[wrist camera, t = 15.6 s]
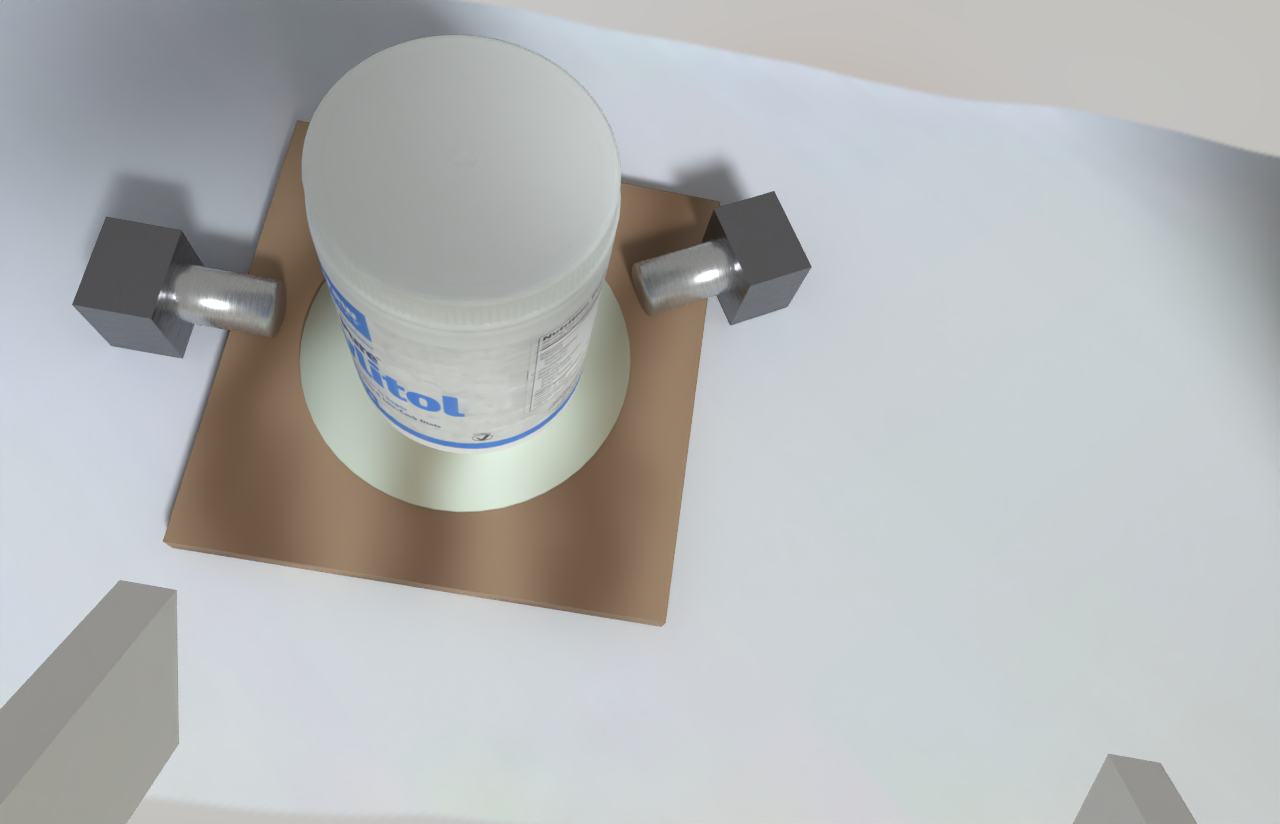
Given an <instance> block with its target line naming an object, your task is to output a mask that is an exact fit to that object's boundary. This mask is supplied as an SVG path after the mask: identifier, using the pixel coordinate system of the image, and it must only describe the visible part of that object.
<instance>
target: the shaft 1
mask: <svg viewBox="0 0 1280 824" xmlns="http://www.w3.org/2000/svg"><path fill="white" fill-rule="evenodd" d="M286 300H287V295H286V287H285V284H284V282H283V281H279V280H274V279H268V278H263V277H257V276H252V275H246V274H241V273H235V272H230V271H224V270H219V269H213V268H207V267H204V266H203V264H202V263H201V261H200V259H199V258H198V256H197V255H196V253H195V251H194V250H193V248H192V246H191V245H190V243H189V242H188V240H187V238H186V237H185V235H184V233H183V232H182V231H181V230H176V229H170V228H165V227H160V226H154V225H149V224H143V223H138V222H132V221H127V220H121V219H116V218H110V217H106V219H105V221H104V224H103V226H102V229H101V231H100V234H99V237H98V239H97V242H96V244H95V247H94V250H93V252H92V255H91V257H90V260H89V263H88V265H87V268H86V270H85V273H84V275H83V278H82V281H81V283H80V286H79V288H78V291H77V294H76V296H75V299H74V301H73V304H72V305H73V306H74V307H75V308H76V309H77V310H78V311H79V312H80V314H81V315H82V316H83V317H84V318H85V319H86V320H87V321H88V322H89V323H90V324H91V325H92V326H93V327H94V328H95V329H96V330H97V331H98V332H99V333H100V334H101V335H102V337H103V338H104V339H105V340H106V341H107V342H108V343H109V344H110V345H111V346H115V347H121V348H127V349H132V350H138V351H144V352H149V353H155V354H161V355H167V356H172V357H178V358H183V356H184V353H185V350H186V347H187V344H188V341H189V338H190V335H191V332H192V329H193V326H194V324H197V325H202V326H208V327H214V328H219V329H225V330H231V331H236V332H242V333H247V334H253V335H259V336H264V337H270V338H274V337H275V336H276V335H277V334H278V332H279V331H280V328H281V326H282V323H283V320H284V316H285V310H286Z"/></svg>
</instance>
